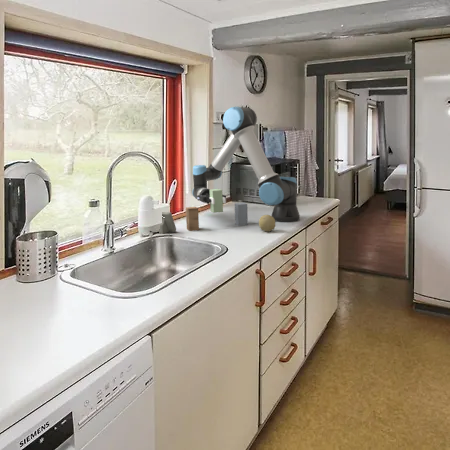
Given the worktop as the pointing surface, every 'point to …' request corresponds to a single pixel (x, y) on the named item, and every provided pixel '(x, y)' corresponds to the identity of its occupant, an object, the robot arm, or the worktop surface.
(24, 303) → the worktop surface
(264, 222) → the potato
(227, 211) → the worktop surface
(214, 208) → the sage green block
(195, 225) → the walnut block
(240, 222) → the slate grey block
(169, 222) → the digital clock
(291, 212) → the robot arm
